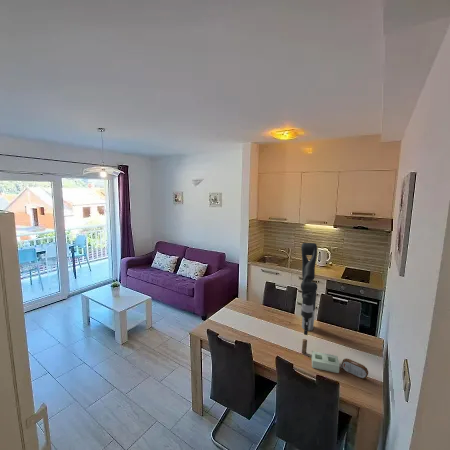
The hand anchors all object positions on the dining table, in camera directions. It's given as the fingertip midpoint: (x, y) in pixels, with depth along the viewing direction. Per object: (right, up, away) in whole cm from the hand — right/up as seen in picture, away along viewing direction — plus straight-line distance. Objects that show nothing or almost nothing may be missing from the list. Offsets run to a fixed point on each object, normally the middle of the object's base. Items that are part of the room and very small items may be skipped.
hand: (305, 331), depth 174 cm
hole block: (+10, -19, -8) cm, 23 cm away
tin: (+25, -21, -16) cm, 36 cm away
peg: (0, -17, +3) cm, 17 cm away
